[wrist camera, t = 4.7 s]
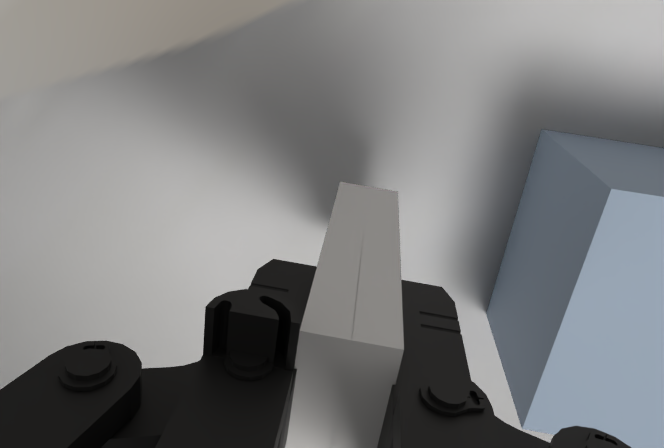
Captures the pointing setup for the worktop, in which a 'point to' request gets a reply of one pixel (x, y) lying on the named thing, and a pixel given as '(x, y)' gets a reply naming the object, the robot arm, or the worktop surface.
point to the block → (586, 290)
